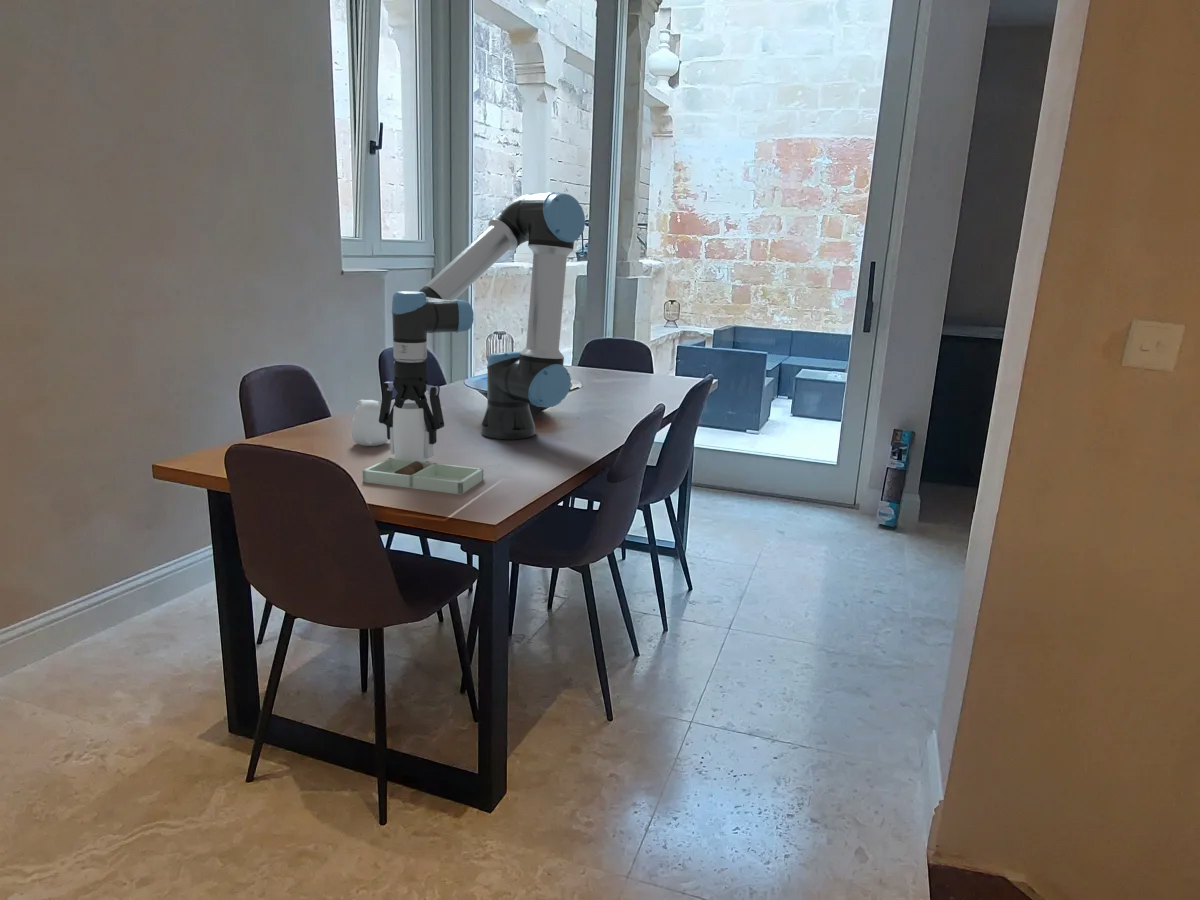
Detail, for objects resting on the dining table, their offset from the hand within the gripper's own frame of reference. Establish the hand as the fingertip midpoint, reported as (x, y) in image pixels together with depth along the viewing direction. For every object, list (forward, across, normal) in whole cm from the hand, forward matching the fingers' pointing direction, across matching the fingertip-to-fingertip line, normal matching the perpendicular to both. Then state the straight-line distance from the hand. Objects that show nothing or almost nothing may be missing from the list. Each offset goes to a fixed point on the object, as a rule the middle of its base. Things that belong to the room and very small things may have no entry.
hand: (411, 454), depth 187 cm
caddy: (+2, +9, -12) cm, 16 cm away
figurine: (+3, -18, +12) cm, 22 cm away
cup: (+3, 0, 0) cm, 3 cm away
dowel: (+1, +4, -12) cm, 13 cm away
